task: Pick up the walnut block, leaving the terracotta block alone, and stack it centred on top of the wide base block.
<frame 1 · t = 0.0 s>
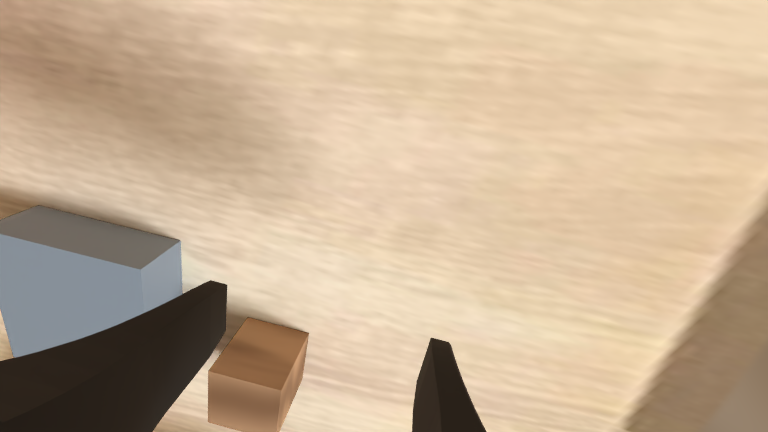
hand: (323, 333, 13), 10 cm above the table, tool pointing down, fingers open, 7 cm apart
walnut block: (276, 348, 28), on the table
base block: (119, 282, 28), on the table
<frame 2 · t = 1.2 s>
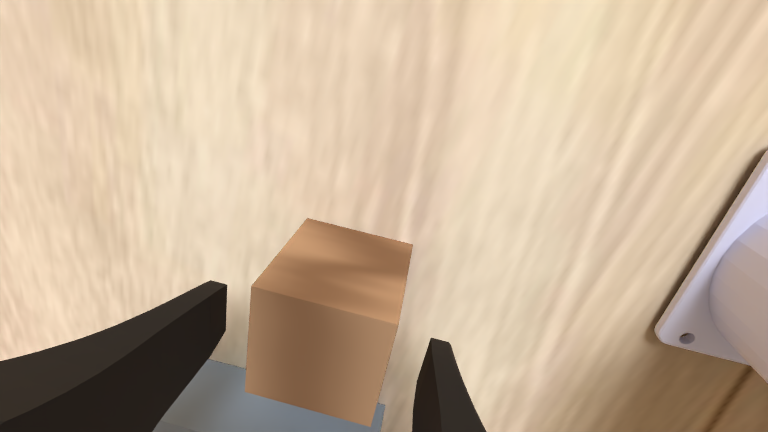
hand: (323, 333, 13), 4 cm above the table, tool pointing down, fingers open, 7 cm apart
walnut block: (351, 275, 17), on the table
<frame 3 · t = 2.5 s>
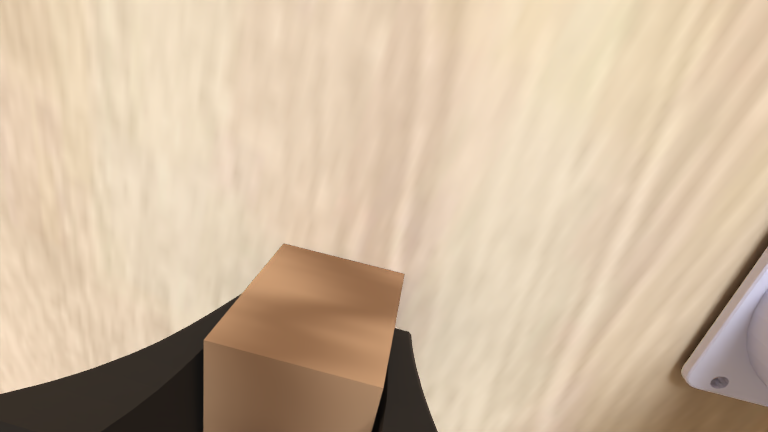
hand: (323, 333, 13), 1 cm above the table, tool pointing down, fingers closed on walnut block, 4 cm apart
walnut block: (334, 308, 15), on the table, touching gripper
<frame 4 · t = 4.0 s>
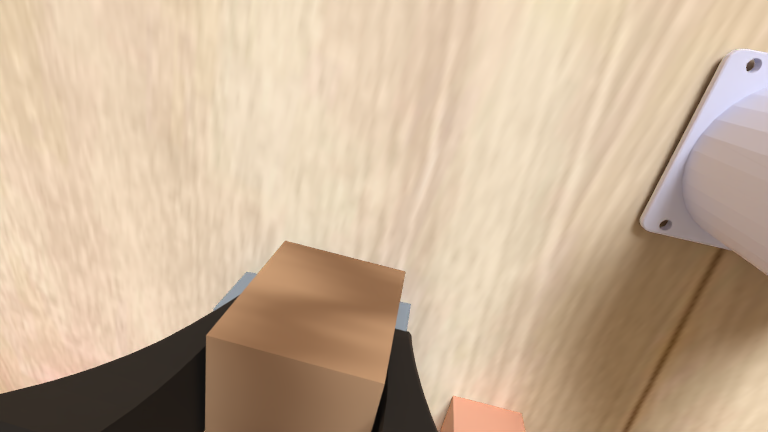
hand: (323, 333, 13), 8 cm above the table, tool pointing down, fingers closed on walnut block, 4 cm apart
walnut block: (335, 305, 15), point 7 cm above the table, touching gripper
terracotta block: (477, 426, 26), on the table
base block: (323, 348, 25), on the table
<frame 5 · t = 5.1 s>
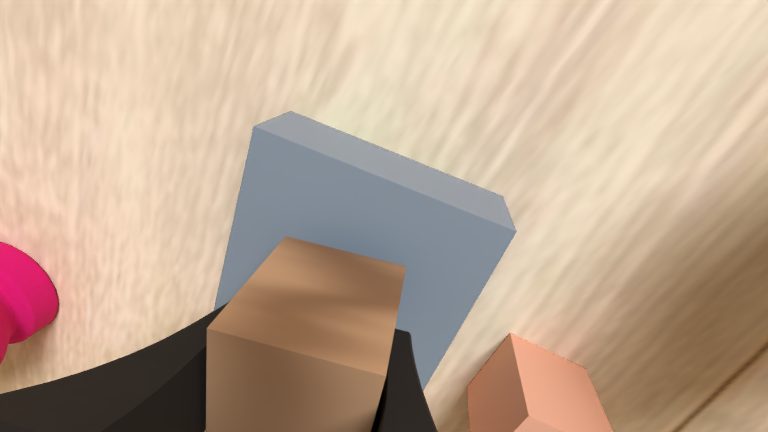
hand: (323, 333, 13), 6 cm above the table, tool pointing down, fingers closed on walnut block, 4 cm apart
walnut block: (336, 300, 15), point 5 cm above the table, touching gripper
terracotta block: (523, 377, 21), on the table
pepper mill: (15, 282, 24), on the table
base block: (362, 242, 19), on the table
when the fingers open (6 cm above the table, at t = 5.8 s): walnut block drops 1 cm, resting on base block.
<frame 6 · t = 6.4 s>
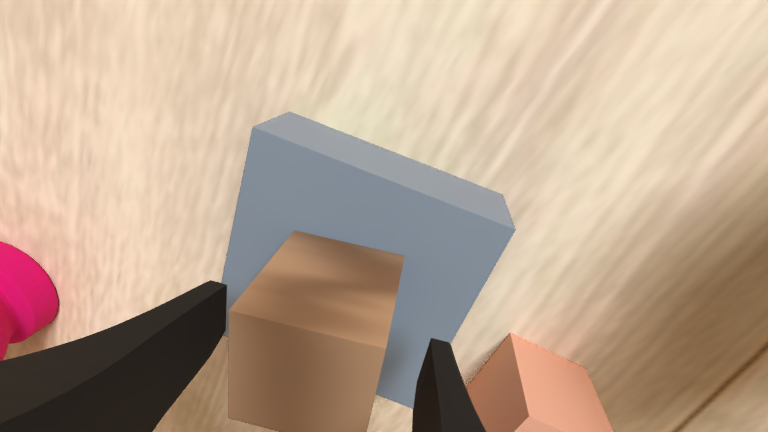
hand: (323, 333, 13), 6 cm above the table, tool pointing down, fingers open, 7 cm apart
walnut block: (341, 289, 16), point 4 cm above the table, touching base block
terracotta block: (524, 377, 21), on the table
pepper mill: (15, 282, 24), on the table
base block: (363, 242, 20), on the table, touching walnut block
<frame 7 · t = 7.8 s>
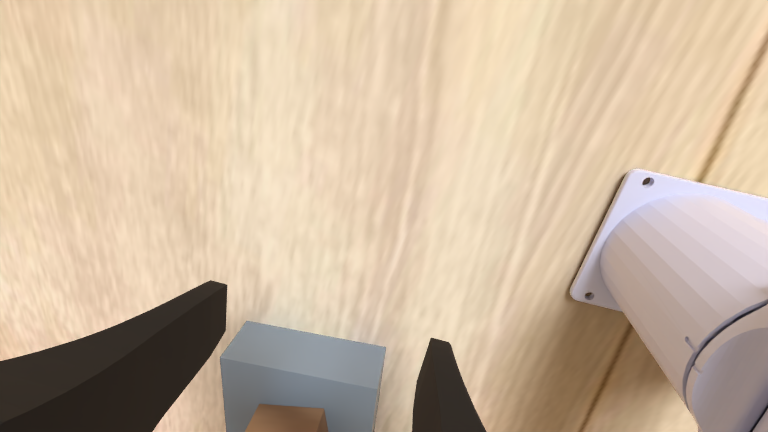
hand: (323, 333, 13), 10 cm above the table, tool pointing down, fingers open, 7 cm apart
walnut block: (296, 430, 26), point 4 cm above the table, touching base block
base block: (314, 381, 29), on the table, touching walnut block
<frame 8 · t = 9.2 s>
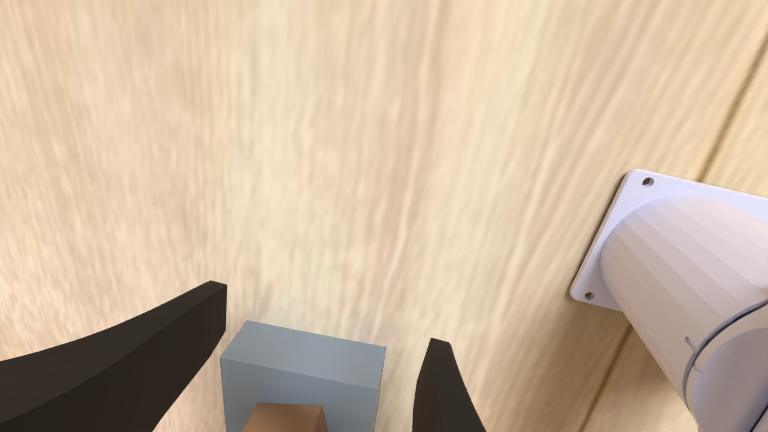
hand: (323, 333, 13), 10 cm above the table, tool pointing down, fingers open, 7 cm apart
walnut block: (296, 428, 26), point 4 cm above the table
base block: (314, 381, 29), on the table
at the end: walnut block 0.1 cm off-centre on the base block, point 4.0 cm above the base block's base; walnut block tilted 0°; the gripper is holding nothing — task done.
